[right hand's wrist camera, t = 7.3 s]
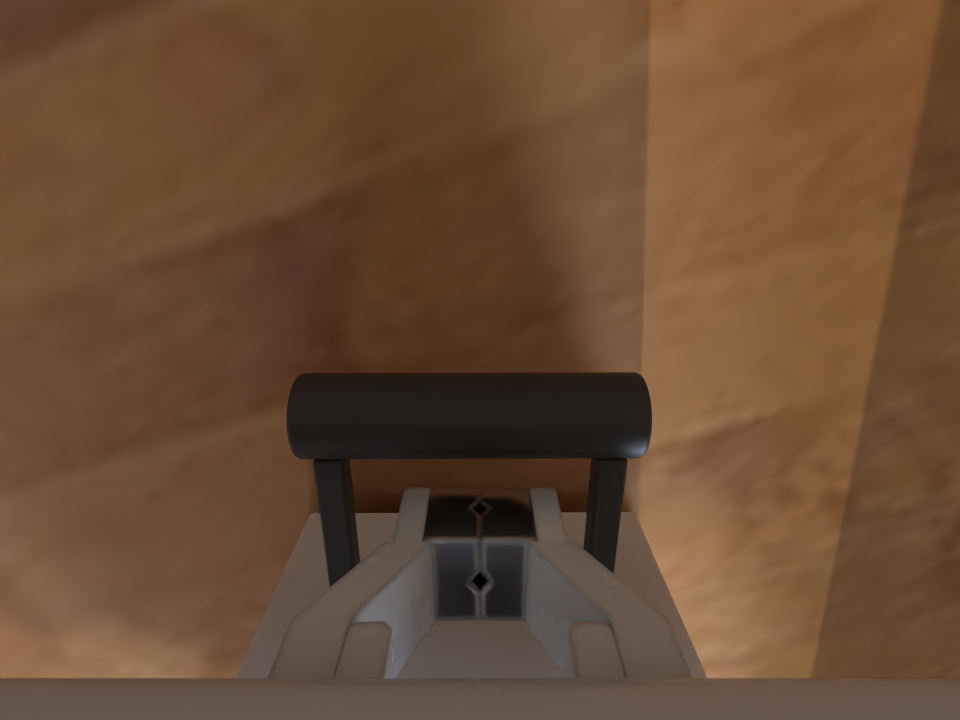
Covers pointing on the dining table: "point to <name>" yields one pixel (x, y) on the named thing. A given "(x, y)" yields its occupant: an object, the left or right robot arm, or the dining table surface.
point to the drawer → (464, 435)
